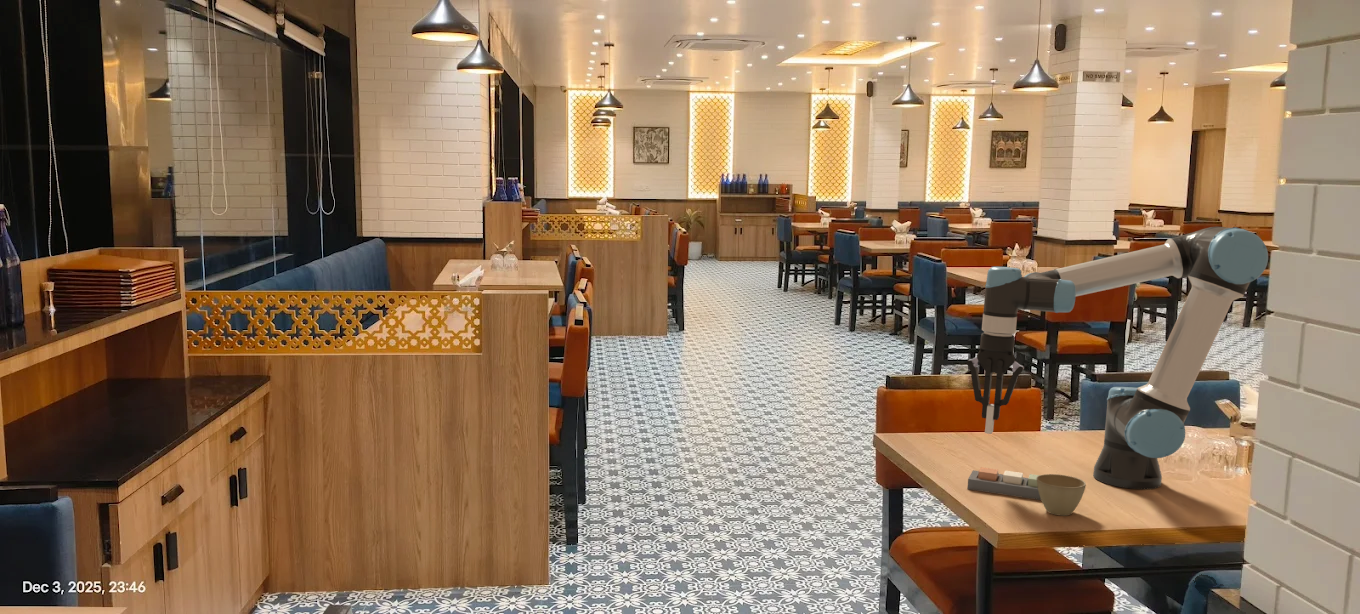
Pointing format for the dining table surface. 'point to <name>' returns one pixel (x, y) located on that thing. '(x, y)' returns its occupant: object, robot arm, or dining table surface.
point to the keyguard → (1003, 486)
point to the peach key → (988, 474)
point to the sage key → (1032, 480)
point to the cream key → (1013, 477)
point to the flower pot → (1060, 493)
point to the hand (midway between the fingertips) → (988, 432)
